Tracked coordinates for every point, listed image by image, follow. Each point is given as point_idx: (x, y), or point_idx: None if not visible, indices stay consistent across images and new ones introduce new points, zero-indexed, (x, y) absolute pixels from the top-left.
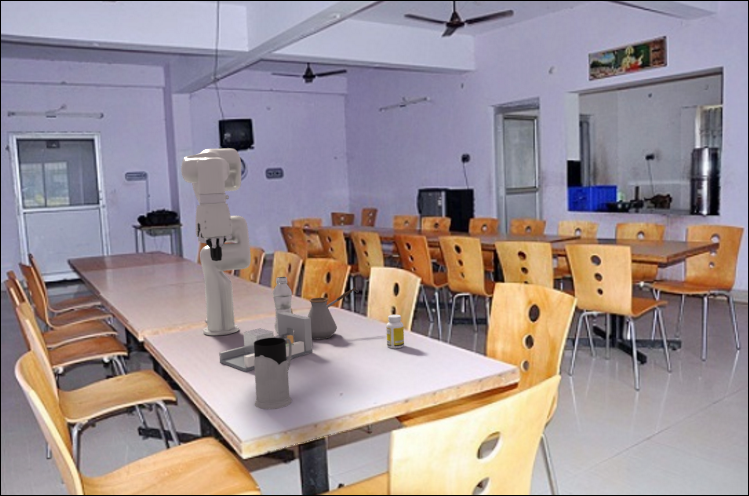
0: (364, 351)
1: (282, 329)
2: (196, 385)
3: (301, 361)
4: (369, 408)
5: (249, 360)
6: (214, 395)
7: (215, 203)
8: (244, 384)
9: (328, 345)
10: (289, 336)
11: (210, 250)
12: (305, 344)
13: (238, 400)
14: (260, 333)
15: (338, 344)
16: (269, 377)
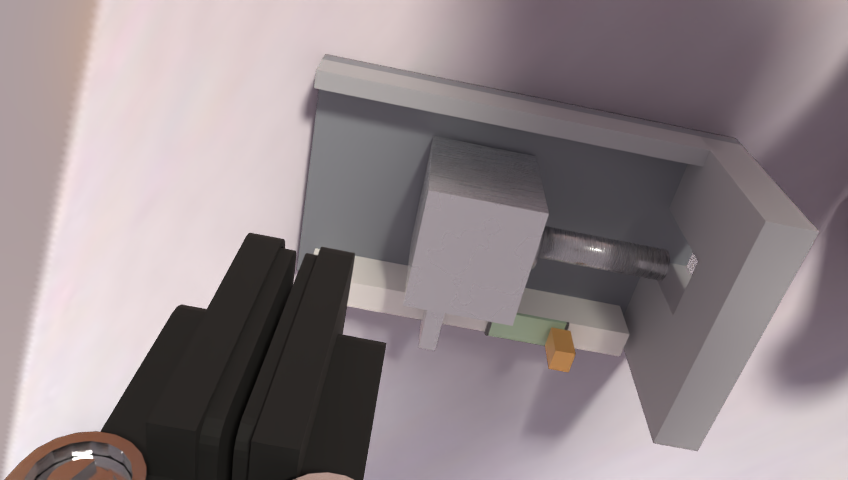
0: (734, 472)
1: (710, 213)
2: (73, 211)
3: (521, 357)
4: None
5: None
6: (71, 338)
7: None
8: None
9: (784, 322)
10: (550, 365)
11: (116, 417)
12: (624, 349)
13: (105, 421)
14: (450, 293)
15: (812, 349)
16: None
